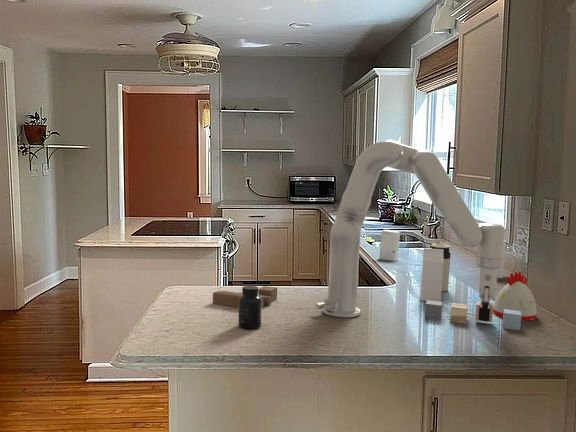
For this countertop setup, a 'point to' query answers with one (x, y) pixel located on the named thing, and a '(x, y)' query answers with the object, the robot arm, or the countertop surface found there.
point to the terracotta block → (478, 312)
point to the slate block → (511, 319)
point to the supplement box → (501, 271)
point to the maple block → (458, 313)
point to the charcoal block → (433, 310)
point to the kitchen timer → (516, 298)
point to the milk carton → (432, 275)
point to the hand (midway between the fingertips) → (483, 317)
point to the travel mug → (444, 264)
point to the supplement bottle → (250, 308)
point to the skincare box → (389, 245)
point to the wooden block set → (232, 298)
